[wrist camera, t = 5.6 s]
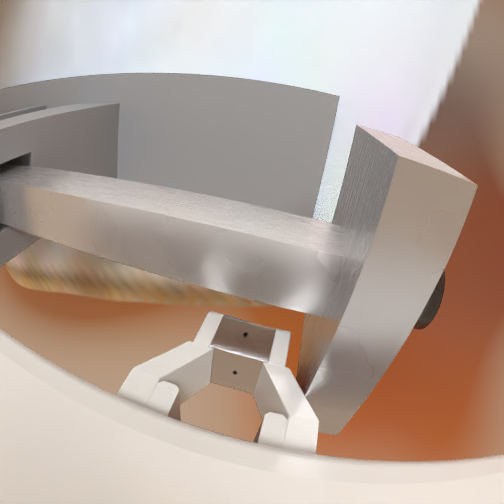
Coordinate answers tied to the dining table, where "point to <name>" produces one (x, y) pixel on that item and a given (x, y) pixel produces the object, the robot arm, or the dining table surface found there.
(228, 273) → the shaft
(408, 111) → the dining table surface
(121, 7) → the dining table surface
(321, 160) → the bearing base
